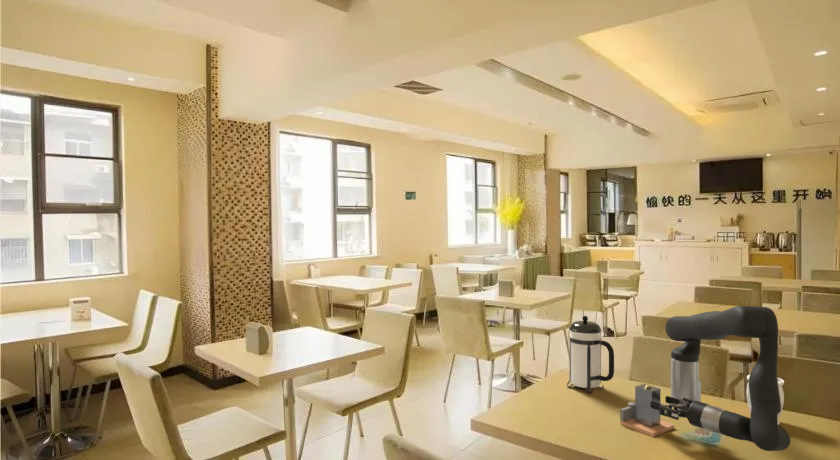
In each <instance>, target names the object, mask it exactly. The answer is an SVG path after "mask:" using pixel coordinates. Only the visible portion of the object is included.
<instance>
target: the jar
mask: <svg viewBox="0 0 840 460" xmlns="http://www.w3.org/2000/svg"><path fill="white" fill-rule="evenodd" d="M749 377H750V374H748V375H746V379H747V381H748V382H747V385H746V401H747V406H748V411H749V412H750V413H751V408H752V406H751V400H750V392H749ZM777 379H778V388H779V394H780V401H781V412H780V413H779V414H778V415H777V420H778V425H779V426H780V424H781V422H780V420H779V418H780V417H781V415H782V413H783V408H784V401H785V393H784V389H783V385H784V384H785V380H784V379H782V378H780V377H777Z"/></svg>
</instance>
